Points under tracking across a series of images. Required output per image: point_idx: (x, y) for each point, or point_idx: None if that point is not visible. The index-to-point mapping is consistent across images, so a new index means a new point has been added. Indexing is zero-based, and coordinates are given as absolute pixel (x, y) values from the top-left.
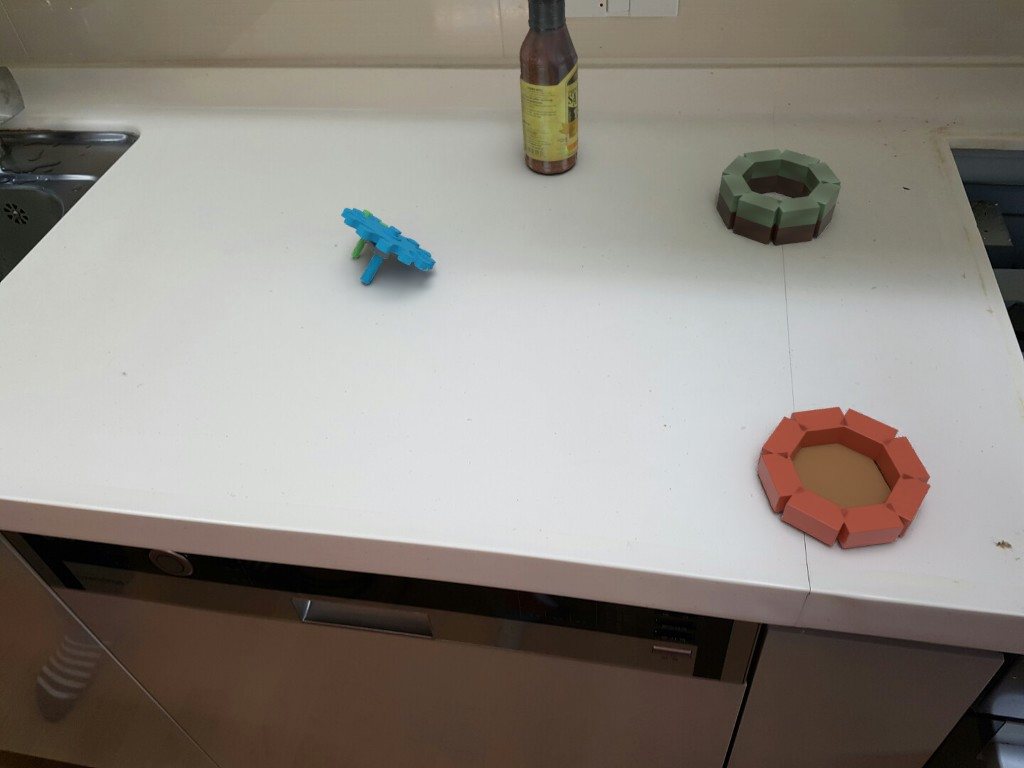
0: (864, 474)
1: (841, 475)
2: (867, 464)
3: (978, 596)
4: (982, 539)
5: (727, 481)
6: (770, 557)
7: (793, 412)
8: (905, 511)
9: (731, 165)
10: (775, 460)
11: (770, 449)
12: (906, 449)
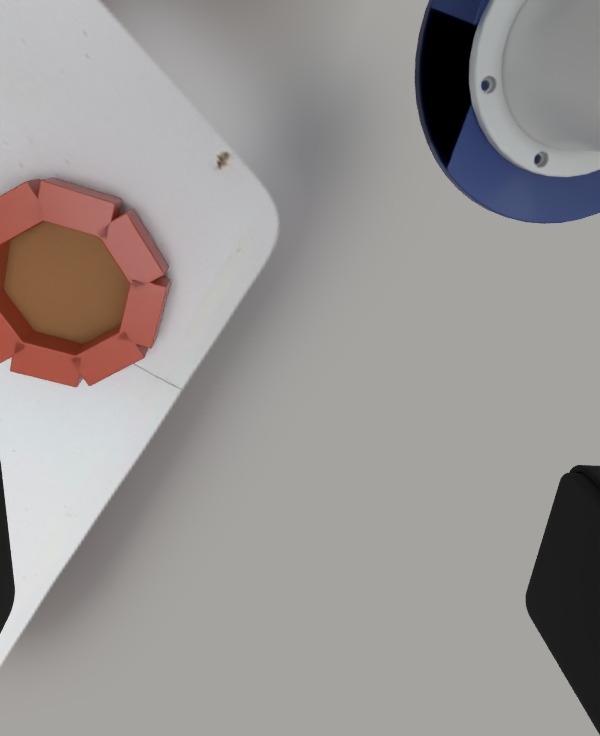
0: (70, 243)
1: (62, 271)
2: (57, 229)
3: (263, 241)
4: (206, 177)
5: (24, 391)
6: (135, 404)
7: None
8: (149, 271)
9: None
10: (24, 362)
11: (5, 357)
12: (62, 197)
